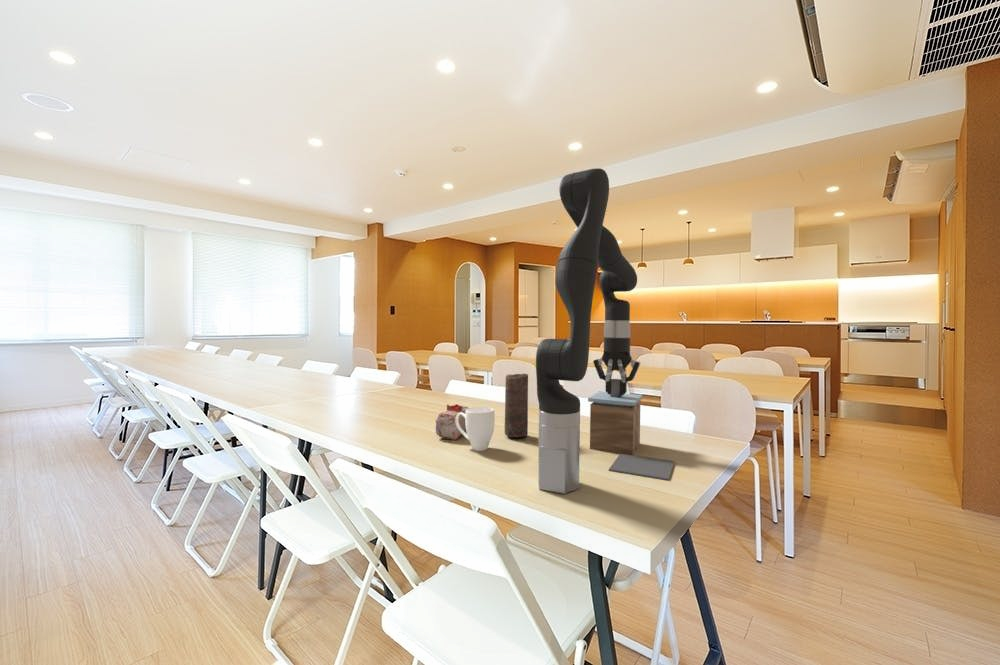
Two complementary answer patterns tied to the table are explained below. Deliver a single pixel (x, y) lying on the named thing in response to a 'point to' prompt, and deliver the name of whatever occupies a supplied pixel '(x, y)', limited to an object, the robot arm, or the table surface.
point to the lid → (615, 396)
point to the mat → (643, 466)
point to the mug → (478, 426)
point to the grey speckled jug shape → (450, 422)
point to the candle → (516, 405)
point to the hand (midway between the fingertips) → (616, 394)
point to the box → (615, 428)
